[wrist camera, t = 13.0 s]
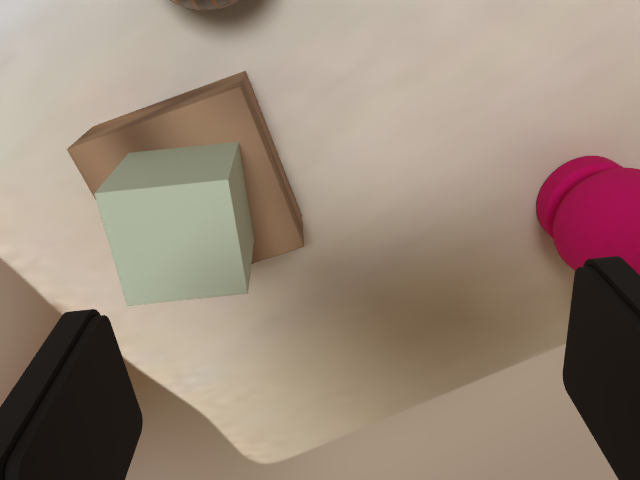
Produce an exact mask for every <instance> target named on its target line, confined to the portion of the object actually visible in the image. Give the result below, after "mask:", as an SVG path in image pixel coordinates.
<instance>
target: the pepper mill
mask: <svg viewBox="0 0 640 480" xmlns="http://www.w3.org/2000/svg"><path fill="white" fill-rule="evenodd" d="M537 216H538V220H539V222H540V224H541V226H542V227H543V228H544V230H545V231H546V232H547V233H548V234H549V235H550V236H551V237H552V238H553V239H554V244H555V246H556V249H557V251H558V253H559V255H560V256H561V258H562V259H563V260H564V261H565V263H566V264H568V265H569V266H570V267H571V268H572V269H574V270H575V271H576V269H577V268H578V267H583V265H584V263H585V261H586V260H588V259H593V258H603V257H612V256H619V257H621V258H622V259H624V260H625V261H626V262H627V263H628V264H629V265H630V266H631V267H632V268H633V269H634V270H635V271H636V272H637V273H638V274H639V275H640V170H639V169H633V168H623V167H621V166H620V165H618V164H617V163H615V162H613V161H611V160H609V159H607V158H604V157H600V156H585V157H580V158H577V159H574V160H571V161H569V162H567V163H566V164H564V165H562V166H561V167H559V168H558V169H557V170H556V171H554V172H553V173H552V174H551V175H550V177H549V178H548V179H547V180H546V182H545V183H544V184H543V186H542V188H541V191H540V193H539V196H538V199H537Z"/></svg>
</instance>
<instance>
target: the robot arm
mask: <svg viewBox="0 0 640 480" xmlns="http://www.w3.org/2000/svg"><path fill="white" fill-rule="evenodd" d="M563 382H564V386H565V389H566V391H567V393H568V395H569V396H570V398H571V399H572V401H573V403H574V405H575V406H576V408H577V410H578V412H579V413H580V415H581V417H582V418H583V420H584V421H585V423H586V425H587V427H588V428H589V430H590V432H591V433H592V435H593V436H594V439H595V440H596V442H597V444H598V445H599V447H600V448H601V450H602V452H603V454H604V455H605V457H606V459H607V460H608V462H609V464H610V466H611V467H612V469H613V471H614V472H615V474H616V476H617V477H618V479H619V480H640V275H639V274H638V273H637V272H636V271H635V270H634V269H633V268H632V267H631V266H630V265H629V264H628V263H627V262H626V261H625V260H624V259H622V258H621V257H619V256H612V257H603V258H593V259H588V260H586V261H585V263H584V265H583V267H578V268H577V269H576V271H575V276H574V284H573V292H572V301H571V309H570V317H569V325H568V334H567V342H566V350H565V358H564V367H563ZM141 431H142V414H141V410H140V408H139V404H138V402H137V399H136V396H135V393H134V390H133V387H132V384H131V381H130V378H129V376H128V372H127V370H126V367H125V364H124V361H123V358H122V355H121V352H120V349H119V346H118V343H117V340H116V337H115V335H114V332H113V329H112V326H111V323H110V320H109V318H108V317H107V316H105V315H103V316H101V315H100V313H99V312H98V311H97V310H95V309H91V310H82V311H72V312H66V313H64V314H63V315H62V317H61V318H60V320H59V321H58V322H57V324H56V326H55V327H54V329H53V330H52V332H51V333H50V335H49V336H48V338H47V339H46V340H45V342H44V343H43V345H42V346H41V348H40V349H39V351H38V352H37V354H36V355H35V357H34V358H33V360H32V361H31V363H30V364H29V366H28V367H27V368H26V370H25V372H24V373H23V375H22V376H21V377H20V379H19V381H18V382H17V383H16V385H15V386H14V388H13V389H12V391H11V392H10V394H9V395H8V397H7V398H6V400H5V401H4V403H3V404H2V406H1V407H0V480H125V478H126V475H127V472H128V469H129V466H130V463H131V460H132V457H133V454H134V451H135V449H136V446H137V443H138V440H139V437H140V434H141Z"/></svg>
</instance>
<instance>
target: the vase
mask: <svg viewBox="0 0 640 480" xmlns="http://www.w3.org/2000/svg"><path fill="white" fill-rule="evenodd" d="M170 1H172V2H174V3H176V4H178V5H181V6H183V7H187V8H190V9H195V10H217V9H221V8H225V7H228V6H231V5H233V4H235V3H237V2H239V1H240V0H170Z"/></svg>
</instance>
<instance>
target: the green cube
mask: <svg viewBox="0 0 640 480" xmlns="http://www.w3.org/2000/svg"><path fill="white" fill-rule="evenodd" d="M94 194H95V198H96V201H97V204H98V208H99V211H100V215H101V218H102V222H103V225H104V228H105V232H106V235H107V239H108V242H109V246H110V249H111V253H112V256H113V259H114V263H115V266H116V270H117V273H118V277H119V280H120V283H121V287H122V290H123V294H124V297H125V301H126V304H127V306H132V305H142V304H151V303H161V302H170V301H180V300H189V299H199V298H208V297H218V296H227V295H237V294H246V293H248V287H249V279H250V271H251V263H252V254H253V246H254V235H253V229H252V223H251V217H250V210H249V204H248V198H247V192H246V185H245V179H244V173H243V166H242V160H241V154H240V148H239V142H230V143H220V144H211V145H201V146H191V147H182V148H172V149H162V150H152V151H143V152H133V153H128V154H127V155H126V157H125V158H124V159H123V160H122V161H121V163H120V164H119V165H118V166H117V167H116V168H115V170H114V171H113V172H112V173H111V174H110V175H109V177H108V178H107V179H106V180H105V181H104V183H103V184H102V185H101V186H100V187H99V188H98V190H97V191H96V192H95V193H94Z"/></svg>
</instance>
